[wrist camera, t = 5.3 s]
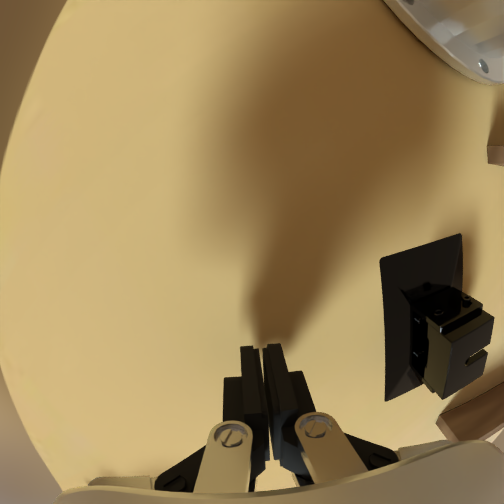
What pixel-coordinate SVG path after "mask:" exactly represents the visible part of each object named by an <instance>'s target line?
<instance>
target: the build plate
mask: <svg viewBox="0 0 504 504" xmlns="http://www.w3.org/2000/svg"><path fill="white" fill-rule="evenodd" d="M379 263H380V272H381V283H382V294H383V308H384V327H385V401H389V400H391V399H393V398H396V397H398V396H400V395H402V394H404V393H406V392H408V391H410V390H412V389H414V388H416V387H418V386H420V385H422V384H425V385H426V386H427V388H428V389H429V390H430V391H431V392H432V393H435V392H436V393H437V394H438V396H439V397H440V398H441V399H442V400H443V399H445V398H447V397H448V396H450V395H452V394H454V393H455V392H457V391H458V390H460V389H462V388H463V387H465V386H466V385H468V384H469V383H471V382H473V381H474V380H476V379H477V378H479V377H480V376H481V375H483V371H484V367H485V363H486V359H487V355H488V352H486V351H485V350H484V349H482V348H484V347H485V346H487V345H488V344H490V341H491V335H492V330H493V324H494V317H493V316H492V315H490V314H488V313H487V312H485V311H484V310H482V307H483V304H482V303H480V302H479V301H477V300H475V299H474V298H472V297H471V296H469V295H467V294H465V293H464V292H462V281H463V252H462V235H461V233H459V234H456V235H453V236H450V237H446V238H443V239H440V240H437V241H434V242H431V243H428V244H425V245H421V246H418V247H415V248H412V249H408V250H405V251H402V252H399V253H395V254H392V255H389V256H385V257H382V258H381V259H380V261H379ZM481 349H482V350H481ZM479 350H480V351H479ZM478 351H479V352H478ZM476 352H477V353H476ZM475 353H476V354H475ZM473 354H474V355H473ZM472 355H473V356H472ZM470 356H471V357H470Z"/></svg>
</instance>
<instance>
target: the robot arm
mask: <svg viewBox="0 0 504 504" xmlns="http://www.w3.org/2000/svg"><path fill="white" fill-rule="evenodd" d="M384 1H385V3H386V4H387V5H388V6H389V7H390V9H391V10H392V11H393V12H394V13H395V14H396V15H397V17H398V18H399V19H400V20H401V21H402V22H403V23H404V24H405V25H406V26H407V27H408V28H409V29H410V30H411V32H412V33H413V34H414V35H415V36H416V37H417V38H418V39H419V40H420V41H422V42H423V43H424V44H425V45H426V46H427V47H428V48H429V49H430V50H431V51H432V52H434V53H435V54H436V55H437V56H438V57H440V58H441V59H442V60H443V61H445V62H446V63H447V64H448V65H450V66H451V67H452V68H454V69H455V70H457V71H459V72H460V73H462V74H463V75H465V76H466V77H468V78H470V79H472V80H475V81H477V82H479V83H482V84H487V85H497V84H503V83H504V0H384ZM262 350H263V372H264V382H263V375H262V368H261V362H260V355H259V349H253V346H241V347H240V352H241V372H242V377H225V378H224V390H223V422H221V423H219V424H217V425H216V426H214V427H213V428H212V430H211V431H210V433H209V437H208V441H207V444H206V445H205V446H204V447H202V448H201V449H199V450H198V451H196V452H195V453H193V454H192V455H190V456H189V457H187V458H186V459H184V460H183V461H181V462H180V463H178V464H176V465H175V466H173V467H172V468H170V469H168V470H167V471H165V472H163V473H162V474H161V475H159V476H158V477H156V478H150V476H134V477H99V478H95V479H94V480H92V481H91V482H90V483H89V484H88V486H84V487H77V488H72V489H68V490H66V491H64V492H62V493H61V494H60V495H59V496H58V497H57V498H56V499H55V500H54V502H53V503H52V504H504V453H503V452H502V451H501V450H500V449H499V448H498V447H496V446H495V445H494V444H492V443H490V442H488V441H484V440H468V441H461V442H456V443H453V442H452V441H449V440H439V441H435V442H430V443H425V444H420V445H414V446H408V447H401V448H398V450H397V451H393V450H391V449H389V448H386V447H383V446H380V445H377V444H374V443H371V442H368V441H365V440H362V439H360V438H357V437H354V436H351V435H349V434H346V433H343V431H342V430H341V428H340V427H339V425H338V423H337V422H336V420H335V419H334V418H333V417H332V416H330V415H328V414H326V413H322V412H316V409H315V406H314V404H313V401H312V398H311V395H310V392H309V389H308V386H307V383H306V380H305V377H304V375H303V372H302V371H294V372H288V369H287V365H286V362H285V358H284V354H283V351H282V347H281V344H280V343H277V344H267V348H263V349H262ZM269 430H270V437H271V443H272V450H273V456H274V460H280V466H283V468H285V469H287V470H289V471H291V473H292V477H293V480H294V482H295V484H296V487H294V488H287V489H279V490H270V491H258V492H256V486H257V476H258V475H259V474H261V473H262V472H263V471H264V470H265V469H266V468H265V461H270V451H269Z"/></svg>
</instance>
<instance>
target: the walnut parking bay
mask: <svg viewBox="0 0 504 504" xmlns="http://www.w3.org/2000/svg"><path fill="white" fill-rule="evenodd" d="M487 149H488V163H489V164H495V165H500V166H504V146H487ZM436 425H437V426H438V427H439V429H440V430H441V431H442V433H443V434H444V435H445V437H446V438H447V440H449V441H452V442H453V443H456V442H461V441H468V440H486V439H487V438H489V437H490V436H492V435H493V434H495V433H496V432H498V431H499V430H500V429H502V428H503V427H504V382H503V383H501V384H500V385H498V386H496V387H495V388H493V389H491V390H489V391H488V392H486V393H484V394H482V395H480V396H478V397H477V398H475V399H473V400H471V401H469V402H467V403H465V404H463V405H461V406H459V407H457V408H455V409H452V410H450V411H448V412H446V413H444V414H441V415H439V418H438V420H437V422H436Z"/></svg>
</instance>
